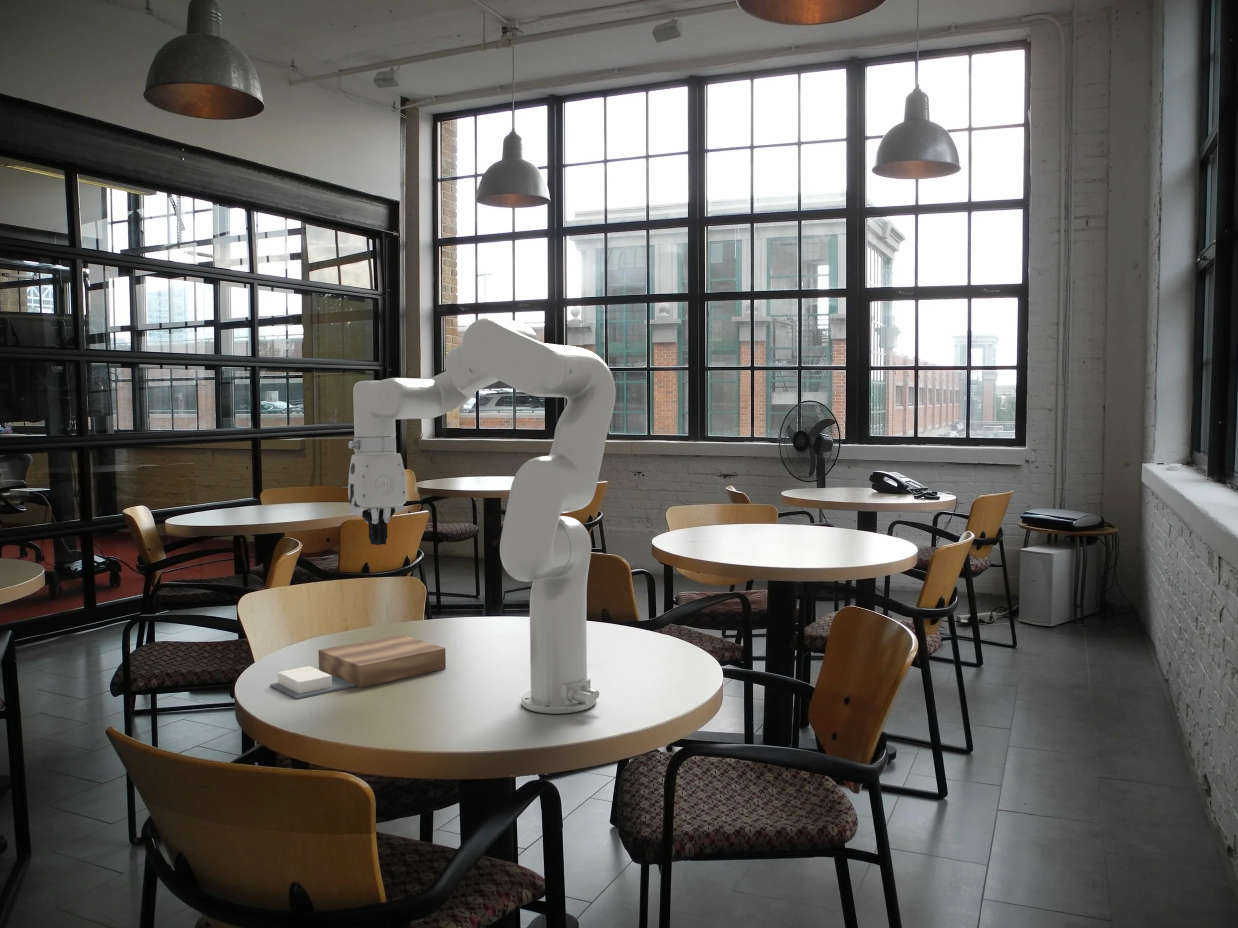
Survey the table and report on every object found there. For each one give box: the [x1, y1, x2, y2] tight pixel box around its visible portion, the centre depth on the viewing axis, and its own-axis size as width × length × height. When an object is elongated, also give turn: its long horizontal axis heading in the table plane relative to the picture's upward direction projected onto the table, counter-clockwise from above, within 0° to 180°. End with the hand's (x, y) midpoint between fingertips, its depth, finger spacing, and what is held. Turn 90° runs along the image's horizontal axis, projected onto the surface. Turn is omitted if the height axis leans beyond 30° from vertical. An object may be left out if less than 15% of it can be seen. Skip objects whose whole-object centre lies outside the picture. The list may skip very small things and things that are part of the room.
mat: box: [269, 672, 356, 700], centre depth 169 cm, size 11×11×1 cm
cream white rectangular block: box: [277, 665, 332, 694], centre depth 169 cm, size 9×6×2 cm, turn 43°
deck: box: [318, 634, 447, 689], centre depth 180 cm, size 16×18×4 cm
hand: (378, 543), depth 177 cm, fingers closed
